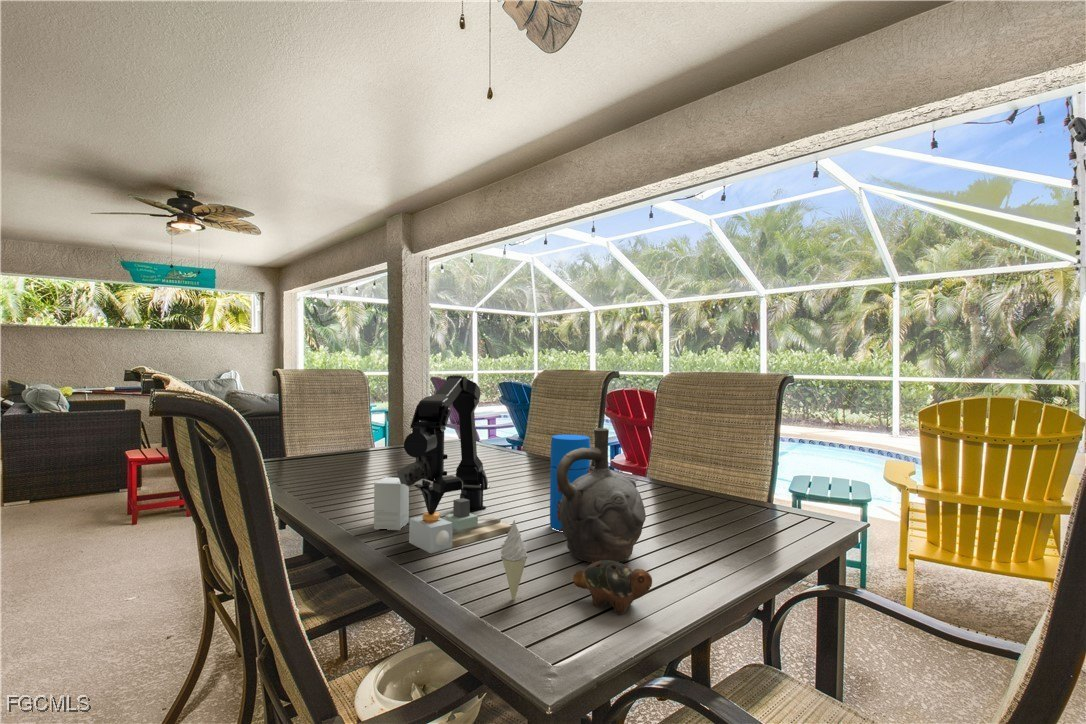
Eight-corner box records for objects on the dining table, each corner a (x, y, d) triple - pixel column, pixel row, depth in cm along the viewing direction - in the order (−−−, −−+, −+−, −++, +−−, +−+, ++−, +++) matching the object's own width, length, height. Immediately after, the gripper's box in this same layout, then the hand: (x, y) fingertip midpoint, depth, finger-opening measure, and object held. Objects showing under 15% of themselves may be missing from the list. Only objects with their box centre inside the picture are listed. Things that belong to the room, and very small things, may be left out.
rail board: (488, 522, 145) (489, 513, 145) (511, 531, 138) (512, 521, 138) (430, 537, 132) (430, 526, 132) (452, 547, 124) (452, 536, 124)
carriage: (464, 520, 136) (464, 496, 137) (477, 525, 132) (478, 500, 132) (444, 525, 132) (445, 499, 132) (458, 530, 128) (458, 504, 128)
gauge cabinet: (430, 537, 132) (430, 513, 132) (452, 547, 124) (453, 523, 124) (409, 542, 127) (409, 518, 127) (431, 553, 120) (431, 528, 120)
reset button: (433, 526, 129) (433, 510, 129) (442, 530, 126) (442, 514, 126) (419, 530, 126) (419, 513, 126) (427, 534, 123) (428, 517, 123)
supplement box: (409, 522, 144) (410, 477, 144) (399, 531, 136) (400, 483, 136) (383, 521, 144) (384, 476, 144) (372, 529, 137) (373, 482, 137)
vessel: (616, 588, 103) (619, 438, 103) (529, 563, 115) (531, 429, 116) (663, 553, 123) (664, 428, 123) (584, 535, 135) (586, 421, 136)
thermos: (543, 530, 139) (545, 438, 139) (557, 519, 148) (559, 433, 149) (582, 536, 134) (583, 440, 135) (593, 524, 144) (595, 436, 145)
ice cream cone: (500, 593, 99) (501, 516, 100) (526, 593, 100) (527, 516, 100) (500, 605, 94) (501, 524, 95) (527, 605, 95) (528, 523, 95)
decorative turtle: (646, 626, 88) (647, 579, 88) (564, 608, 94) (564, 564, 94) (657, 602, 97) (657, 560, 97) (581, 587, 103) (581, 547, 103)
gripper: (383, 449, 127) (382, 512, 127) (423, 459, 114) (421, 530, 114) (423, 444, 135) (422, 504, 135) (464, 454, 122) (463, 520, 121)
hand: (431, 514), depth 126 cm, fingers closed, pressing on reset button
